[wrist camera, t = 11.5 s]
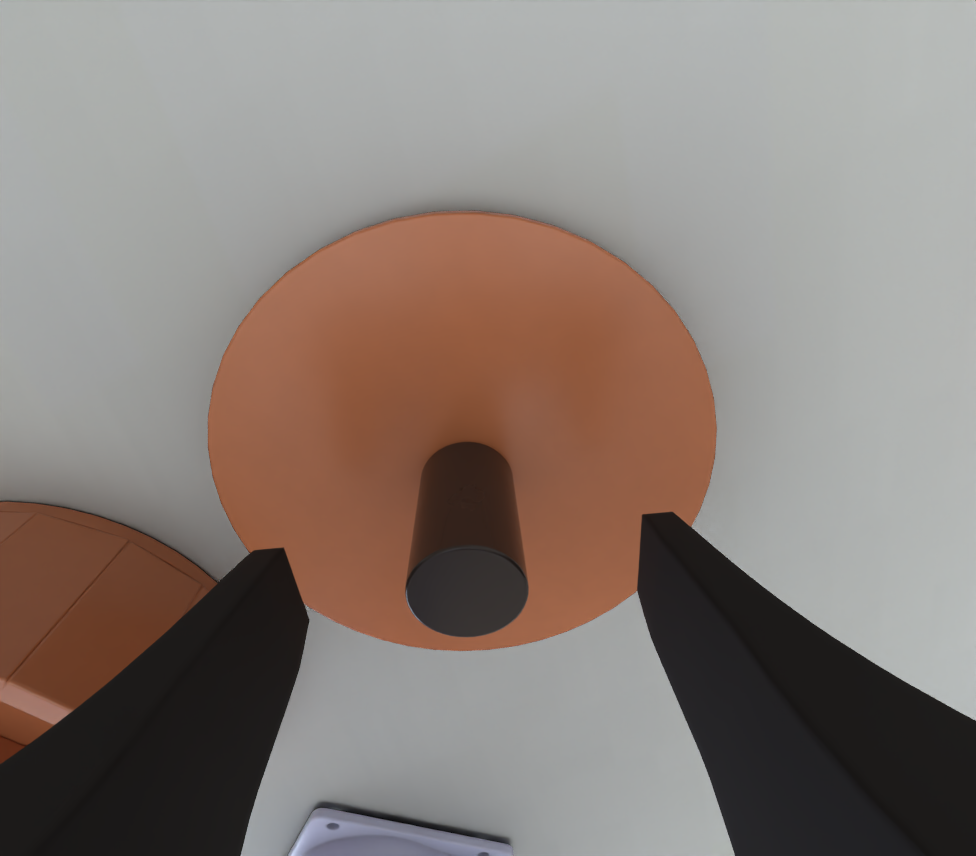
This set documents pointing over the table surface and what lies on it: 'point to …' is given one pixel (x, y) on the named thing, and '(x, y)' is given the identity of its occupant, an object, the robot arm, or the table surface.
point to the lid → (460, 428)
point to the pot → (77, 610)
